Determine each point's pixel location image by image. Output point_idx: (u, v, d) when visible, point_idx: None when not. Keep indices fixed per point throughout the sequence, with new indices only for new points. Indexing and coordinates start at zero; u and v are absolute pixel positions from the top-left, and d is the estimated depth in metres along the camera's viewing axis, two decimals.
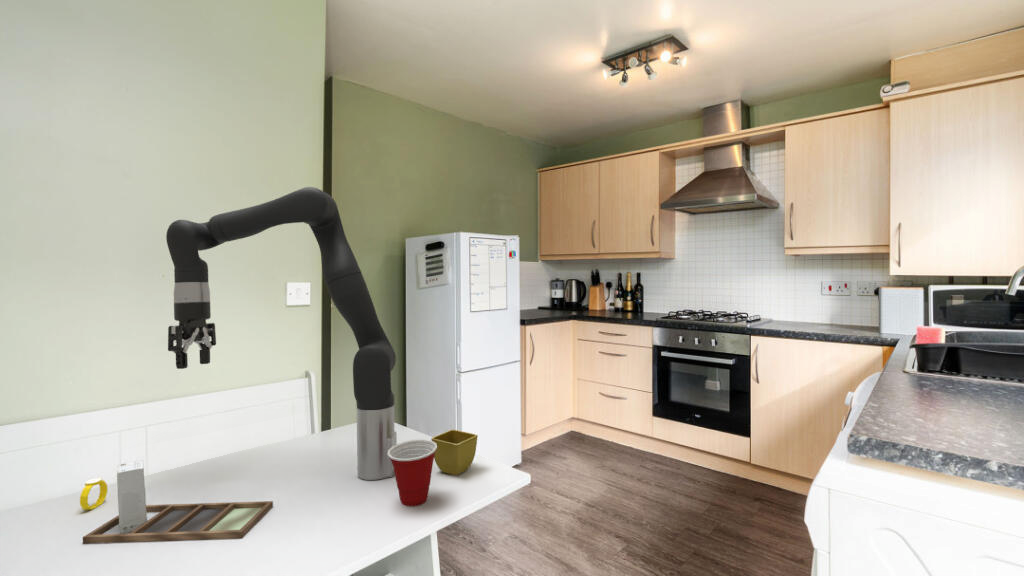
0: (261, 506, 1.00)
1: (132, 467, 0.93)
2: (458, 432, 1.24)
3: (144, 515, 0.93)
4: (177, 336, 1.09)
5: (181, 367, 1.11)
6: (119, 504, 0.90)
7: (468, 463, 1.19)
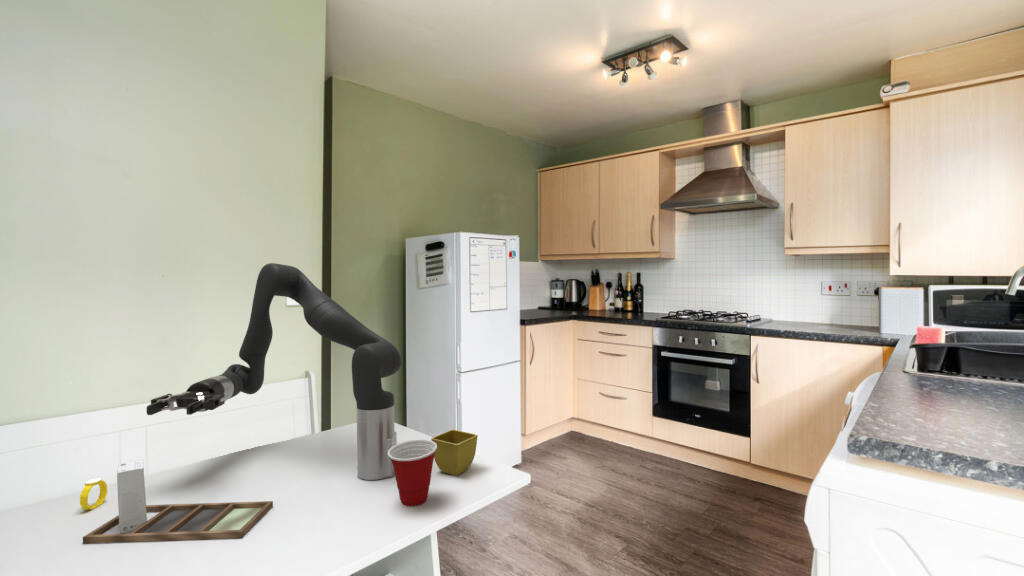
0: (261, 506, 1.00)
1: (132, 467, 0.93)
2: (458, 432, 1.24)
3: (144, 515, 0.93)
4: None
5: None
6: (119, 504, 0.90)
7: (468, 463, 1.19)
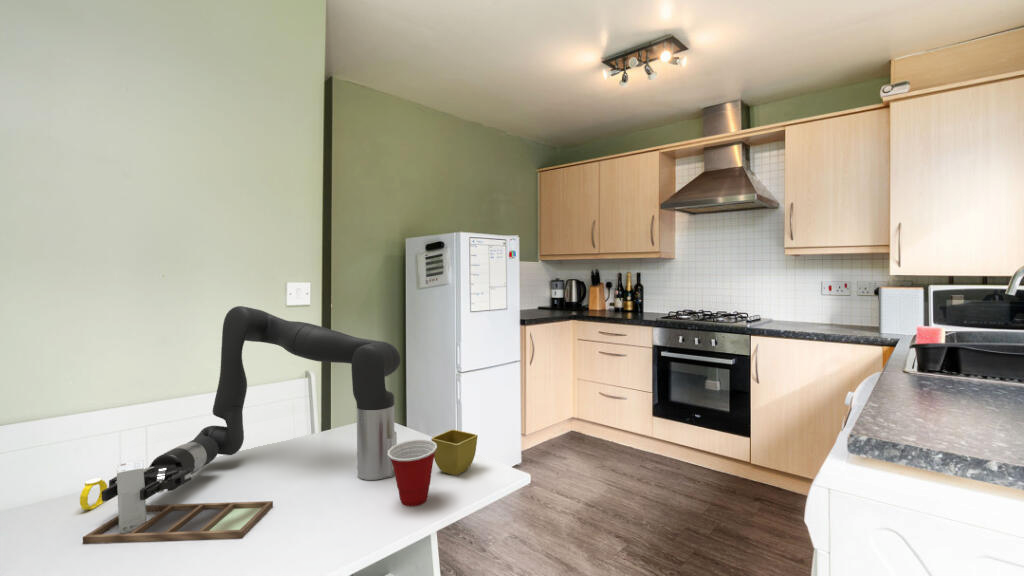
0: (261, 506, 1.00)
1: (132, 467, 0.93)
2: (458, 432, 1.24)
3: (144, 515, 0.92)
4: None
5: None
6: (119, 504, 0.90)
7: (468, 463, 1.19)
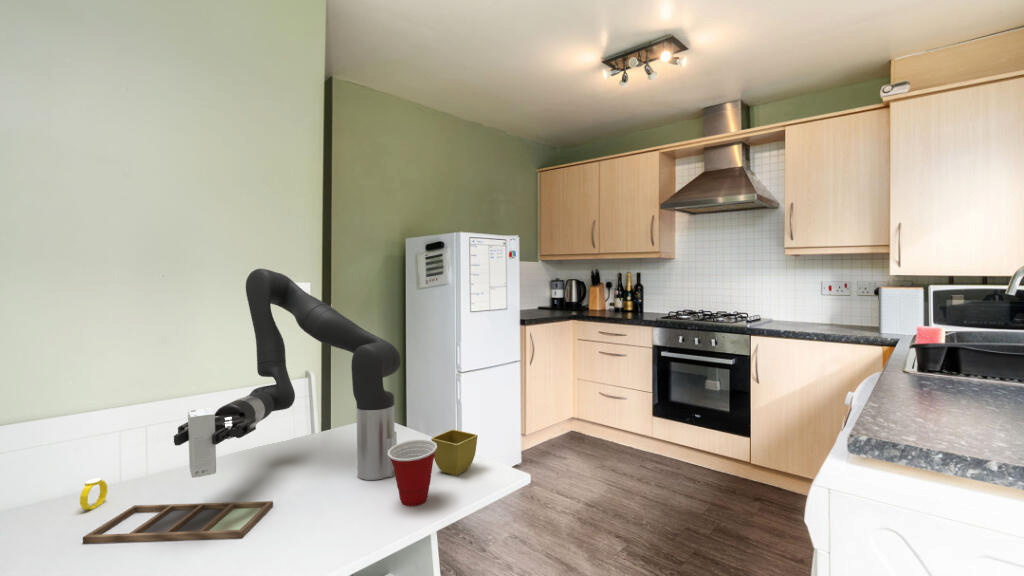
0: (261, 506, 1.00)
1: (203, 413, 0.93)
2: (458, 432, 1.24)
3: (214, 461, 0.93)
4: None
5: None
6: (192, 448, 0.90)
7: (468, 463, 1.19)
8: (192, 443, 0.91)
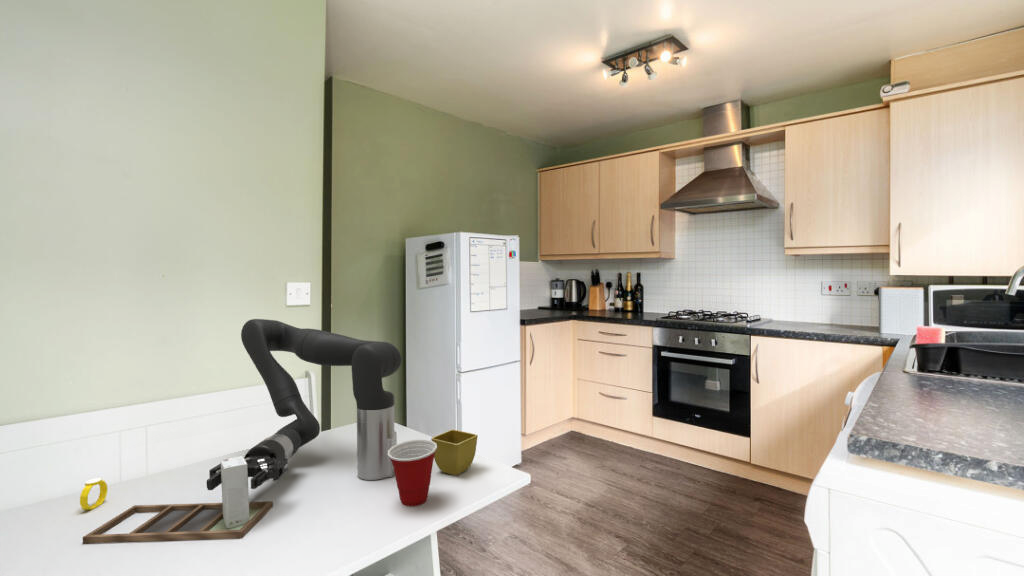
0: (261, 506, 1.00)
1: (236, 463, 0.94)
2: (458, 432, 1.24)
3: (248, 510, 0.93)
4: None
5: None
6: (226, 499, 0.91)
7: (468, 463, 1.19)
8: (226, 494, 0.91)
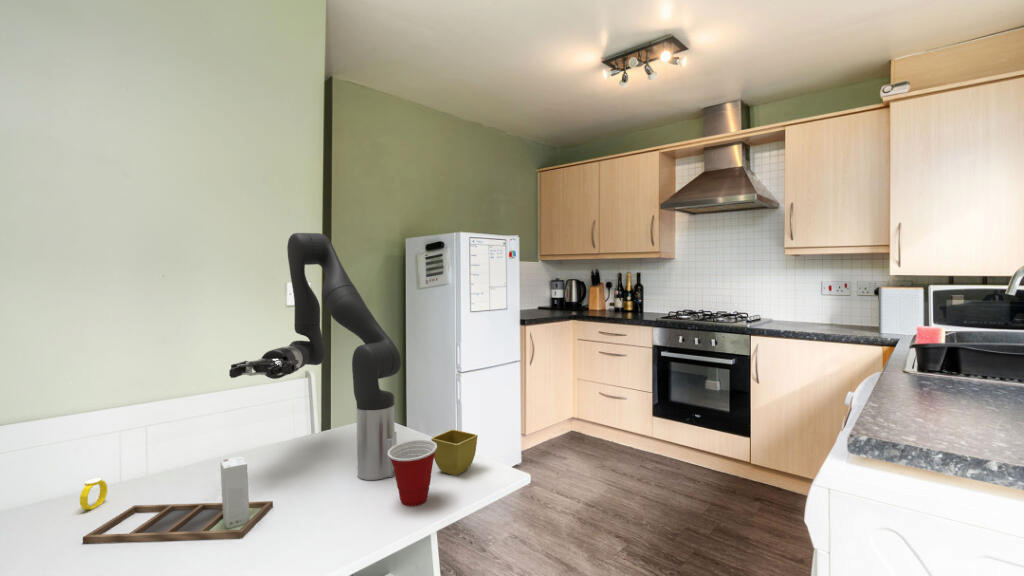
0: (261, 506, 1.00)
1: (236, 463, 0.94)
2: (458, 432, 1.24)
3: (248, 510, 0.93)
4: None
5: None
6: (226, 499, 0.91)
7: (468, 463, 1.19)
8: (226, 494, 0.91)
